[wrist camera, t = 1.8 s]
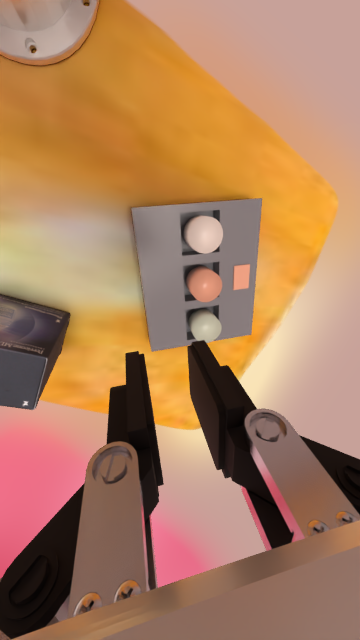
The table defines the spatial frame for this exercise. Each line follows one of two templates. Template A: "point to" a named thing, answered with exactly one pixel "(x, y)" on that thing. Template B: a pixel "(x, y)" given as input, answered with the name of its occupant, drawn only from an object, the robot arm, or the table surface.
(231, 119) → the table surface
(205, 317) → the sage button
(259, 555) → the robot arm
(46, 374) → the small box
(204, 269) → the terracotta button
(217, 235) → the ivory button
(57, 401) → the table surface
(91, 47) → the table surface
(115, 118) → the table surface
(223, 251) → the button box
